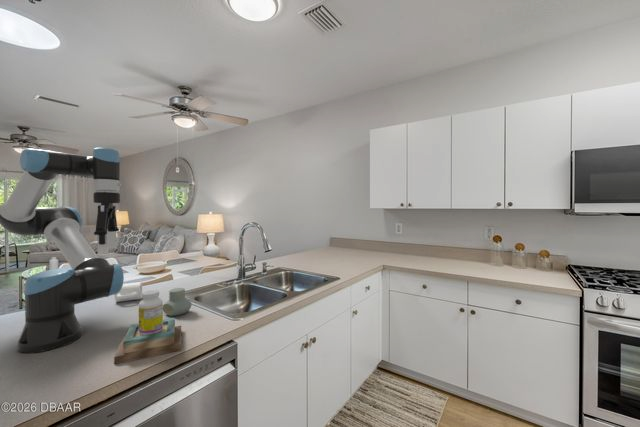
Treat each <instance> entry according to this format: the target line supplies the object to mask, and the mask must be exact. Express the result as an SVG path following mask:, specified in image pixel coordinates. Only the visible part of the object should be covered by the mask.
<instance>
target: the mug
mask: <svg viewBox="0 0 640 427" xmlns="http://www.w3.org/2000/svg"><path fill="white" fill-rule="evenodd" d="M142 293H143V283H142V282H132V283H123V286H122V288H121V290H120V291H119V292H118V293H117V294H114V295H113V296H114V297H113V298H114V301H115V303H122V302H129V301H136V300H142V299H143V298H142Z"/></svg>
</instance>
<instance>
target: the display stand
mask: <svg viewBox="0 0 640 427" xmlns="http://www.w3.org/2000/svg"><path fill="white" fill-rule="evenodd" d="M117 347H118V348H117V350H116V352H115V354H114V356H113V358H114V359H113V360H114V361H113V364H114V365H116V364H120V363H121V364H122V363H125V362H131V361H135V360H140V359H144V358H150V357H155V356H160V355H164V354H169V353H175V352H179V351H182V325H176V319H175V317H172V318H165V319H164V318H163V329H162V331H160V332H159V333H155V334H149V335H144V336H143V335H140V333H139V323H134V324H130V325H129V328H128V330H127V333H126V334H124V335H123V337H122V339H121V341H120V344H119V345H118V346H117Z"/></svg>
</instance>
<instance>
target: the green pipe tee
mask: <svg viewBox="0 0 640 427" xmlns="http://www.w3.org/2000/svg"><path fill="white" fill-rule="evenodd" d="M192 306H193V305H192V301H191V300H190V299H189V298H187V297H186V289H185V288H183V287H176V288H173V289H170V290H169V291H168V300H167V301H165V303H164V304H163V314H166V315H167V316H169V317H170V316H171V317H176V316H181V315H184V314H185V313H187V312H189V311H190V310H191V308H192Z"/></svg>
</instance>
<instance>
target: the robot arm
mask: <svg viewBox="0 0 640 427" xmlns="http://www.w3.org/2000/svg"><path fill="white" fill-rule="evenodd" d="M120 162H121V160H120V153H119V151H118V150H116V149H113V148H110V147H109V148H108V147H95V148H93V149H92V156H89V155H84V154H83V155H81V154H74V153H66V152H60V151H53V150H45V149H41V148H39V149H37V148H25V149H23V150H22V151H21V152H20V157H19V163H20V164H19V165H20V167H21V169H22V170H23V173H22V175H21V176H20V178H19V180H18V182H17V183H16V185H15V186H14V189H13V190H12V192H11V194H10V195H9V197H8V199H7V201H4V202H3V203H2V204H0V226H2V227H3V228H4V229H5V230H7V231H8V232H10V233H13V234H16V235H20V236H38V235H39V236H41V235H43V236H44V237H45V239H47V240H49V241H51V242H54V243H55V245H56V247H57V248H58V249H59V251H60V253H61V254H62V255H63V257H64V259H65V260H66V262H68V265H69V266H70V267H68V266H67V267H65V266H64V267H60V268H53V269H47V270H44V271H39V272H37V273H35V274H32V275H30V276H29V277H28V278H27V279H26V280H25V283H24V284H25V285H24V290H23V295H24V309H25V310H24V313H25V314H24V316H25V319H24V320H25V323H24V326H23V329H22V331H21V334H20V335H19V338H18V341H17V351H18V352H20V353H24V354H25V353H26V354H27V353H29V354H30V353H31V354H32V353H33V354H34V353H39V352H40V353H41V352H45V351H50V350H53V349H57V348H60V347H63V346H66V345H69V344H70V343H71V344H72V343H73V342H75V341H76V340H78V339H79V338H80V337H81V336H82V326H81V324H80V322H79V320H78V317H77V316H76V313H75V306H76V305H79V304H82V303H86V302H91V301H94V300H98V299H102V298H108V297H110V296H114V294H117V293H118V292H119V291H120V290H121V288H122V286H123V284H124V282H125V281H124V280H125V279H124V278H125V277H124V276H125V275H124V270H123V268H122V266H121V265H120V264H119V263H112V264H110V262H108V260H107V259H105V258H104V257H99V256H98V255H108V254H109V250H110V249H117V247H118V246H117V244H118V243H117V232H119V228H118V222H117V213H116V205H114V204H119V203H120V202H121V194H120V193H119V192H120V188H121V187H122V183H121V182H120V180H121V178H120V176H121V175H120V170H121V169H120V168H121V167H120V166H121V165H120ZM57 175H65V176H74V177H75V176H77V177H78V176H79V177H82V178H89V179H90V178H91V179H93V180H92V182H93V183H92V184H93V185H92V191H94V192H93V203H95V204H99V205H97V215H96V216H97V218H96V223H95V231H93V235H94V236H97V238H96V240H97V244H96V245H97V253H96V252H95V250H94V249H93V248H92V247H91V245H90V244H89V243H88V241H87V240H86V238H85V237H84V236H83V234H82V233H81V231H80V230H81V229H82V225H83V224H82V221H83V220H82V217H81V213H80V212H79V210H77V209H76V208H74V207H71V206H64V205H63V206H38V205H39V203H40V201H41V199H42V198H43V197H44V195H45V193H46V192H47V190H48V189H49V187H50V186H51V184H52V182H53V181H54V180H55V178H57Z"/></svg>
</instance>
